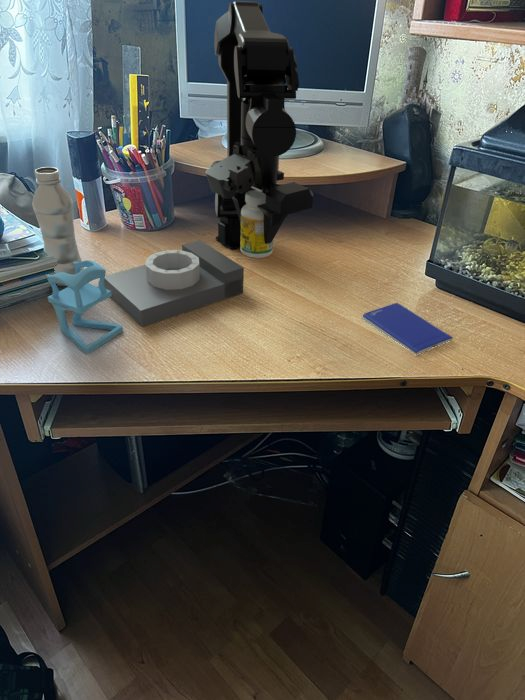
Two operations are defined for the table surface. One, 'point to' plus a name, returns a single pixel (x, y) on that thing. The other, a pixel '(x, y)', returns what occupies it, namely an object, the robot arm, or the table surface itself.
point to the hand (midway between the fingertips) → (256, 236)
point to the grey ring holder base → (175, 282)
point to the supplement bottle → (254, 227)
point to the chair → (81, 301)
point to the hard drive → (406, 328)
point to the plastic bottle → (56, 220)
